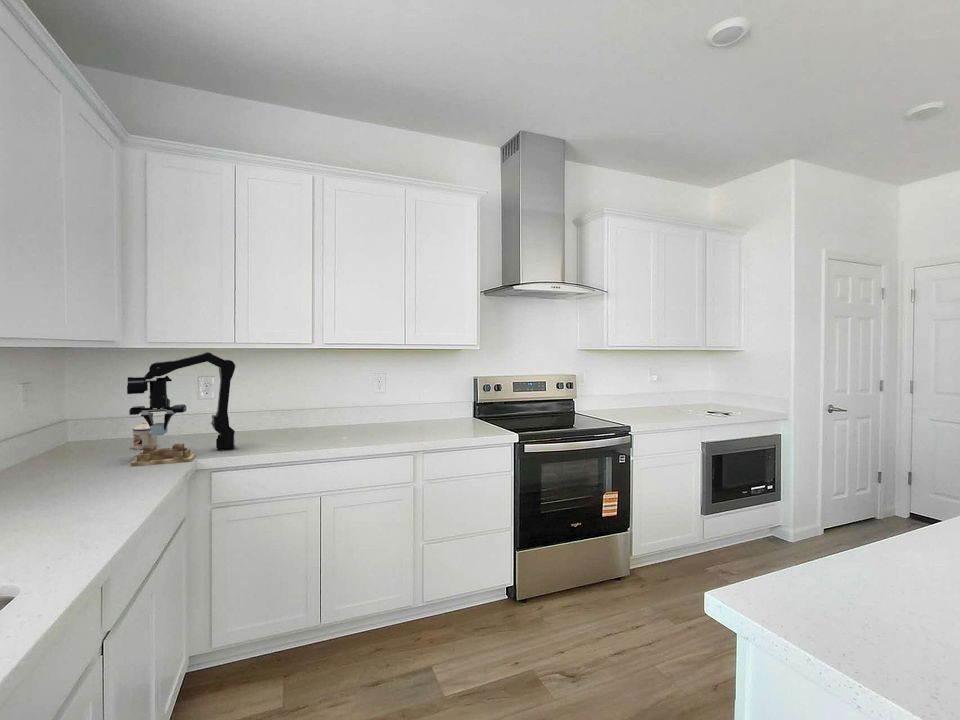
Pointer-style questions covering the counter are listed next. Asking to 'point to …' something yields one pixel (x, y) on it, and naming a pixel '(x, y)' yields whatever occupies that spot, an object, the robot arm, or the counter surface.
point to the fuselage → (163, 451)
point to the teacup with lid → (143, 436)
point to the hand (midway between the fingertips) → (159, 430)
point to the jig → (178, 457)
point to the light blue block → (158, 429)
